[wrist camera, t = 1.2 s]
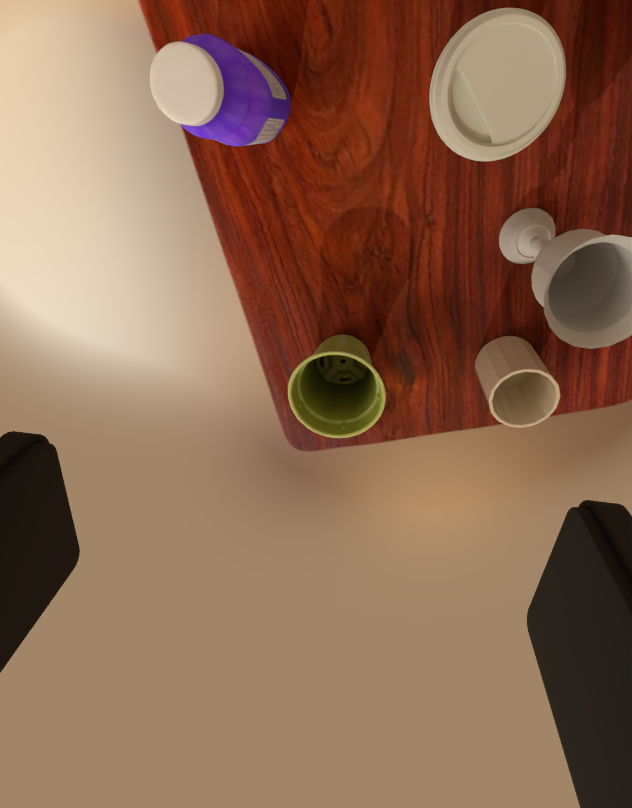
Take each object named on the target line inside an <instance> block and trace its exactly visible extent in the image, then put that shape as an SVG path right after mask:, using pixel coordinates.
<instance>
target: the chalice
mask: <svg viewBox="0 0 632 808" xmlns="http://www.w3.org/2000/svg"><path fill="white" fill-rule="evenodd" d="M555 235H556V234H555V224H554V221H553V219H552V217H551V216H550V215H549V214H548V213H547V212H545V211H543V210H541V209H538V208H527V209H523V210H520V211H518V212H517V213H515V214H513V215H512V216H511V217H510V218H509V219H508V220H507V221H506V222H505V224H504V225H503V227H502V229H501V232H500V236H499V247H500V249H501V251H502V254H503V255H504V256H505V257H506V258H507V259H508V260H510V261H512V262H514V263H519V264H526V263H532V262H534V261H535V263H534V267H533V271H532V289H533V292H534V294H535V297H536V300H537V301H538V302H539V303H540V304H541V305H542V306H543V308H544V314H545V317H546V319H547V322H548V324H549V327H550V328H551V329H552V331H553V332H554V333H555V334H556V335H557V336H558V337H559V338H560V339H561V340H563V341H565V342H567V343H569V344H571V345H572V346H575V347H582V348H588V349H593V348H600V347H607V346H611V345H613V344H615V343H617V342H620V341H622V340H624V339H626V338H628V337H629V336H630V335H632V237H625V236H619V235H609V236H606V235H604V234H602V233H600V232H598V231H595V230H588V229H578V230H573V231H568V232H566V233H563V234H561V235H559V236H558V237H556V238H555Z"/></svg>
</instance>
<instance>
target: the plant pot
mask: <svg viewBox="0 0 632 808" xmlns="http://www.w3.org/2000/svg"><path fill="white" fill-rule="evenodd" d="M322 356H323V362H324V367H322V366H321V364H320V358H321V357H322ZM343 359H344V360H345V363H341V360H343ZM340 378H351V380H347V381H341V380H340ZM288 399H289V403H290V406H291V408H292V411H293V412H294V414H295V415H296V417H297V418H298V420H299V421H300V422H301V423H302V424H303V425H305V426H306V427H307V428H308V429H310V430H312V431H313V432H315V433H318V434H320V435H323V436H327V437H332V438H346V437H351V436H355V435H358V434H360V433H362V432H364V431H366V430H367V429H369V428H370V427H371V426H373V425H374V424H375V422H376V421H377V420H378V419H379V417H380V416H381V414H382V412H383V409H384V406H385V399H386V396H385V388H384V384H383V381H382V379H381V377H380V375H379V374H378V372H377V371H376V370H375V368H374V367H373V366H372V361H371V357H370V354H369V351H368V349H367V347H366V346H365V345H364V344H363V343H362V342H361V341H359V340H358V339H357V338H355V337H353V336H350V335H344V334H340V335H335V336H331V337H329V338H327V339H326V340H325V341H323V342H322V343H321V344H320V346H319V347H318V348H317V350H316V351H315V353H314V354H313V355H312V356H310V357H309V358H307V359H305V360H304V361H303V362H302V363H300V364H299V366H298V367H297V368H296V369H295V371H294V372H293V374H292V376H291V378H290V381H289V385H288Z"/></svg>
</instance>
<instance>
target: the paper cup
mask: <svg viewBox="0 0 632 808" xmlns="http://www.w3.org/2000/svg"><path fill="white" fill-rule="evenodd" d="M475 369H476V373H477V377H478V380H479V382H480V385H481V387H482V390H483V393H484V395H485V398H486V401H487V403H488V406H489V408H490V411H491V413H492V414H493V416H494V417H495V418H496V419H497V420H498V421H499V422H501V423H503V424H505V425H507V426H510V427H519V428H523V427H528V426H533V425H536V424H538V423H540V422H542V421H543V420H545V419H547V418H548V417H549V416H550V415H551V414H552V412H553V411H554V410H555V409H556V408H557V405H558V402H559V399H560V392H559V385H558V384H557V382H556V381H555V379H554V378H553V376H552V375H551V373H550V372H549V370H548V369H547V367H546V366H545V364H544V363H543V361H542V360H541V358H540V357H539V355H538V354H537V352H536V351H535V350H534V348H533V347H532V346H531V344H530V343H528V342H527V341H526V340H524V339H522V338H519V337H515V336H504V337H499V338H496V339H494V340H492V341H490V342H489V343H487V344H486V345H485V346H484V347H483V348H482V349H481V351H480V352H479V354H478V356H477V358H476V363H475Z"/></svg>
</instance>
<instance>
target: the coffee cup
mask: <svg viewBox="0 0 632 808" xmlns="http://www.w3.org/2000/svg"><path fill="white" fill-rule="evenodd" d="M565 79H566V61H565V55H564V51H563V47H562V44H561V42H560V39H559V37H558V35H557V34H556V32H555V31H554V29H553V28H552V27H551V26H550V24H549V23H548V22H546V21H545V20H544V19H543V18H542V17H540V16H538V15H537V14H535V13H533V12H530V11H527V10H524V9H519V8H500V9H495V10H491V11H488V12H485V13H483V14H481V15H479V16H477V17H475V18H474V19H472V20H471V21H469V22H468V23H466V24H465V25H464V26H463V27H462V28H460V29H459V30H458V31H457V32H456V34H455V35H454V36H453V37H452V38H451V39H450V41H449V42H448V43H447V45H446V46H445V48H444V49H443V51H442V53H441V55H440V57H439V59H438V61H437V64H436V66H435V69H434V72H433V76H432V80H431V85H430V111H431V116H432V120H433V123H434V126H435V128H436V130H437V132H438V134H439V136H440V137H441V139H442V140H443V141H444V143H445V144H446V145H447V146H448V147H449V148H450V149H451V150H453V151H454V152H455V153H457V154H459V155H461V156H463V157H465V158H468V159H471V160H476V161H494V160H499V159H503V158H506V157H509V156H511V155H513V154H515V153H517V152H519V151H521V150H522V149H524V148H525V147H527V146H528V145H529V144H531V143H532V142H533V141H534V140H535V139H536V138H537V137H538V136H539V135H540V134H541V133H542V132H543V131H544V130H545V128H546V127H547V126H548V124H549V123H550V121H551V120H552V118H553V116H554V115H555V113H556V111H557V108H558V106H559V104H560V101H561V98H562V95H563V91H564V86H565Z"/></svg>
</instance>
